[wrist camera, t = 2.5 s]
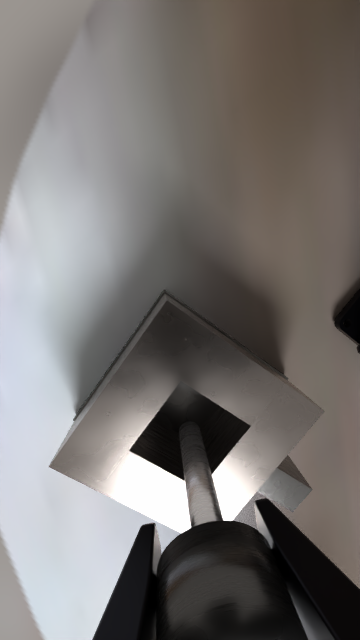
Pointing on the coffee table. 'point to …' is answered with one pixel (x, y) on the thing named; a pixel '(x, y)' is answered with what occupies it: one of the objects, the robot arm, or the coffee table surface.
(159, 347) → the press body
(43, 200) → the coffee table surface
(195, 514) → the plunger
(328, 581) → the robot arm
